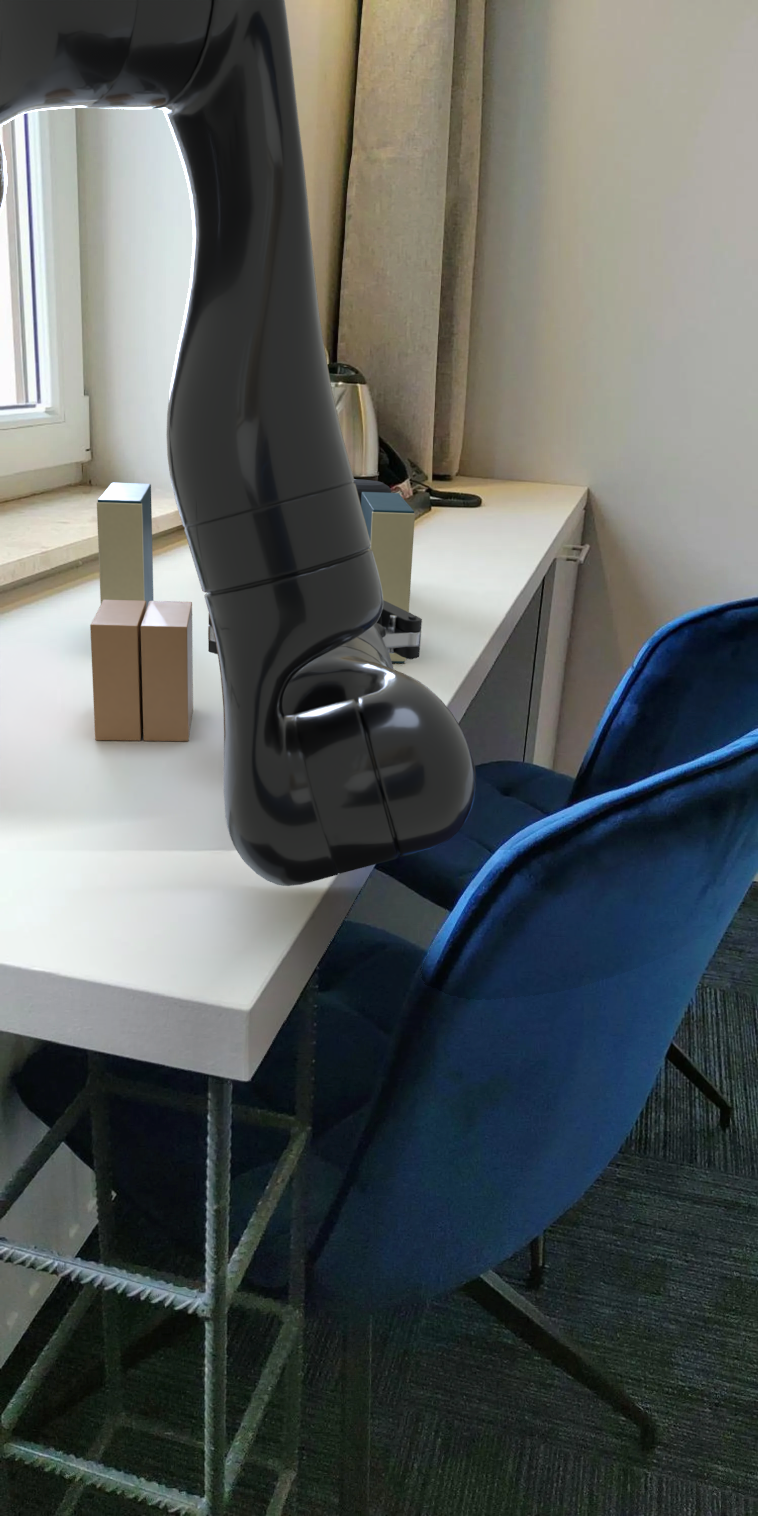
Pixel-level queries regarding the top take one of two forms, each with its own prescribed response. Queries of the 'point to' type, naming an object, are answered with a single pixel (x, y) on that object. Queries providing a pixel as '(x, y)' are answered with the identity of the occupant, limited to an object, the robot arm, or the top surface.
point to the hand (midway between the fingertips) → (307, 599)
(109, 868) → the top surface
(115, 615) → the tan book
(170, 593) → the top surface
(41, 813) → the top surface
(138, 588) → the teal book
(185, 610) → the tan book
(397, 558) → the teal book
